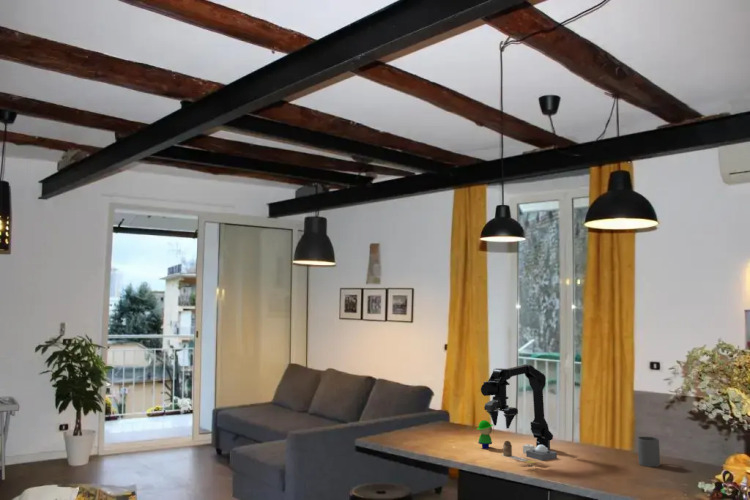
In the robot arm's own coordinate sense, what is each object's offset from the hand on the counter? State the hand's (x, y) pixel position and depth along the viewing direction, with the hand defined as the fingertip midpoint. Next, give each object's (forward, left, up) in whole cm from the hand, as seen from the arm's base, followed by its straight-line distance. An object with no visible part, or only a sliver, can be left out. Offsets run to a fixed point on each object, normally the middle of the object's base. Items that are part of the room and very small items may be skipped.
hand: (501, 426), depth 307 cm
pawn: (-1, +3, -13) cm, 14 cm away
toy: (-4, -17, -15) cm, 23 cm away
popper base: (-13, +14, -14) cm, 23 cm away
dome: (-13, +14, -13) cm, 23 cm away
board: (-8, +10, -15) cm, 19 cm away
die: (-14, +4, -14) cm, 20 cm away
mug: (-51, +46, -15) cm, 70 cm away
